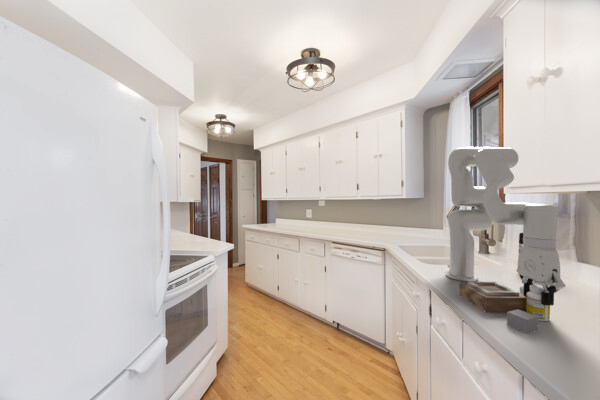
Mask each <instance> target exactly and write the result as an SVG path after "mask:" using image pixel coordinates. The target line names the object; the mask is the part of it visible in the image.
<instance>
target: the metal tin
mask: <svg viewBox="0 0 600 400" xmlns="http://www.w3.org/2000/svg"><path fill="white" fill-rule="evenodd" d="M519 293H520V294H522V295H523V294H524V285H523V286H520V287H519Z"/></svg>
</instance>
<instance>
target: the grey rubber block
mask: <svg viewBox="0 0 600 400" xmlns="http://www.w3.org/2000/svg"><path fill="white" fill-rule="evenodd" d="M506 325H507V326H509V327H512V328H513V327H514V328H513V329H515V330H518V331H520V332H522V333H525V334H531V333H533V332H537V331H539V320H538V317H537V316H535V315H532V314H529V313H527V312H524V311H521V310H519V309H518V310H513V311H509V312H507V313H506Z"/></svg>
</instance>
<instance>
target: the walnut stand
mask: <svg viewBox="0 0 600 400" xmlns="http://www.w3.org/2000/svg"><path fill="white" fill-rule="evenodd" d="M458 288H459V291H458V292H459V296H460V297H461V298H463V299H464V300H465V301H467V302H469V303H471V305H473V306H475V307H477V309H480V310H481V311H483V312H484V311H485V312H484V313H486V312H490V314H493V313H494V314H495V313H496V314H499V313H502V314H503V313H505V314H507V312H509V311H513V310H518V309H519V310H521V311H524V312H526V297H525V296H524V295H522V294H520V291H516V290H514V289H512V288H511V287H508V286H505V285H503V284H501V283H499V282H497V281H472V282H468V281H461V282H459V287H458Z"/></svg>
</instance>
